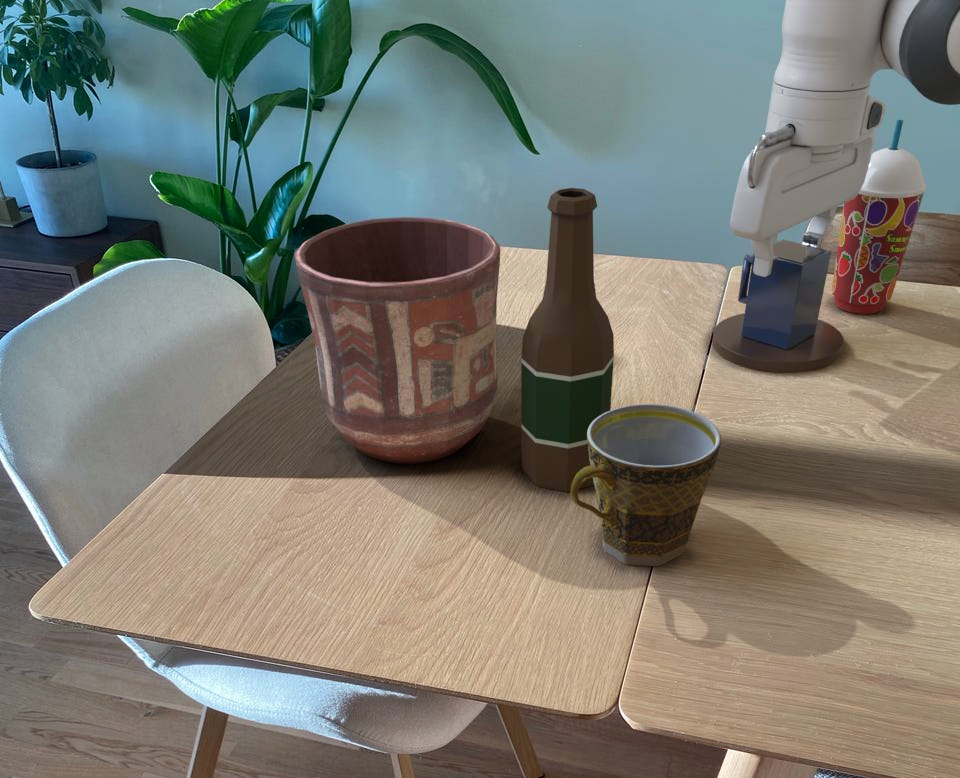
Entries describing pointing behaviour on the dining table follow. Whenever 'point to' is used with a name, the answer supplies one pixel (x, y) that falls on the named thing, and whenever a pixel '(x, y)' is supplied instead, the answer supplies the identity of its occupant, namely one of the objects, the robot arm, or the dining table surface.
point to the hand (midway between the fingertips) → (788, 262)
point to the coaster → (777, 348)
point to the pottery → (404, 332)
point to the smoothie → (877, 230)
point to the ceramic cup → (648, 478)
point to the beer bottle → (565, 351)
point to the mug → (784, 295)
